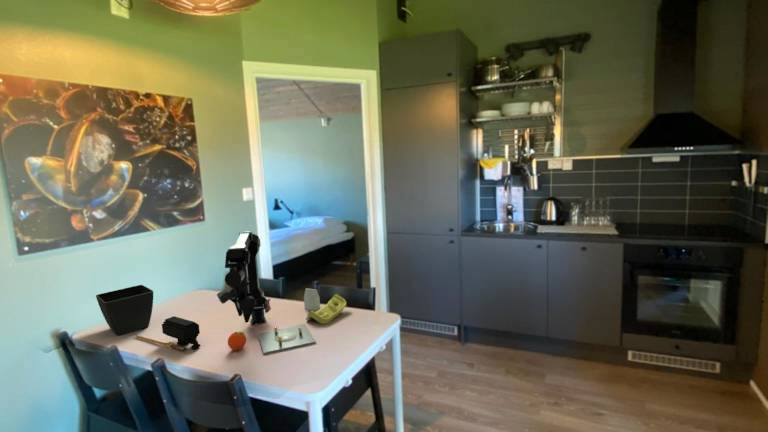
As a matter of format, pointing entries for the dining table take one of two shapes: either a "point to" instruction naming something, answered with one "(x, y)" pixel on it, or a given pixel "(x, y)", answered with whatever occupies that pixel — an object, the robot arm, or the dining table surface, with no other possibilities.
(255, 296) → the robot arm
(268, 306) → the pliers
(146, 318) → the flower pot
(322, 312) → the plastic component
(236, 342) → the clementine
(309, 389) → the dining table surface
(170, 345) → the katana
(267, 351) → the nest plate
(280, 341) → the brass pins
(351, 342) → the dining table surface
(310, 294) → the tea bag
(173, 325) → the security camera
